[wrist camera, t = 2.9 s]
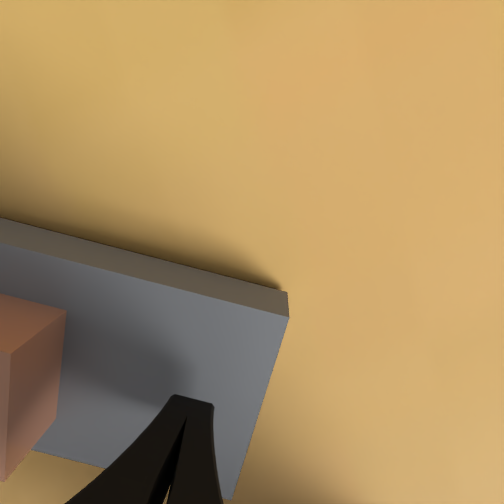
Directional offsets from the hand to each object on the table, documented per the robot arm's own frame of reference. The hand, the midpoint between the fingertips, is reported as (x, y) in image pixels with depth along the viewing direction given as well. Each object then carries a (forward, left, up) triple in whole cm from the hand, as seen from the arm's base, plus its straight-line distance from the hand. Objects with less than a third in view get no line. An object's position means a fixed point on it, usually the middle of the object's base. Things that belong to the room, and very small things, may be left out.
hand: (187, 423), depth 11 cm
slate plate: (0, +7, -3) cm, 7 cm away
